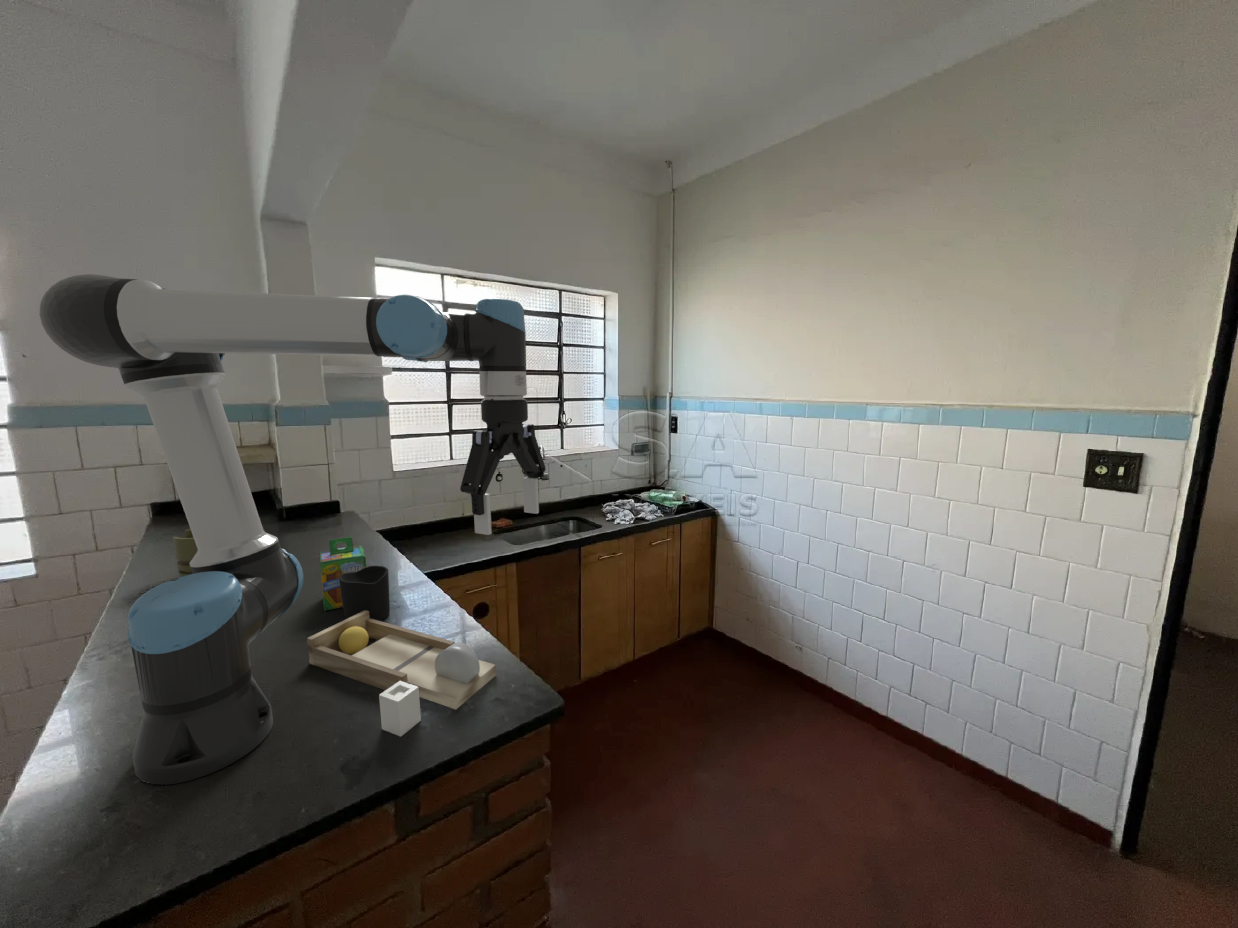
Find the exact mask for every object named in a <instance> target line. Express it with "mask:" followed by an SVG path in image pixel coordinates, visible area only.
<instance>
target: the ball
mask: <svg viewBox="0 0 1238 928" xmlns="http://www.w3.org/2000/svg"><path fill="white" fill-rule="evenodd" d="M369 639H370V637H369V636H368V633H367V631H366V630H365V629H363V628H362V627H358V626H355V627H350V628H348V629H346V630H345V631H344V632H343V633H342V634H341V636H340V638H339V647H340V649H341V652H342V653H345V654H348V655H351V656H352V655H353V654H355V653H357V652H359V651H361V650H362V649H364V648H366V647H368V644H369Z"/></svg>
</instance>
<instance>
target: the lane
mask: <svg viewBox="0 0 1238 928" xmlns="http://www.w3.org/2000/svg"><path fill="white" fill-rule="evenodd" d="M355 626H358V627H362V628H363V629H365V630H366V631H367V633H368V636H369V639H374V640H376V641H375V642H373V643H371V644H370V645H367V646H366V647H365V648H364V649H362V650H361V651H359V652H357V653H355V654H352V655H351V654H346V653H344V652H343V651H342V650H341V649H340V647H339V638H340V636H341V634H342V633H343V632H344V631H345V630H346V629H348V628H350V627H355ZM306 642H307V651H308V652H307V653H308V658H309V659H308V660H309V661H308V662H309V664H310V665H312V666H315V667H318V668H321V669H323V670H325V671H326V670H327V671H329V672H333V673H335V674H337V675H341V676H343V677H346V678H350V679H352V680H355V681H358V682H360V683H364V684H367V685H369V686H372V687H375V688H378V689H381V690H383V691H385V690H387V689H388V688H390V687H391V686H393V685H394V684H396V683H397V682H399V681H403V682H405V683H408V684H411V685H414V686H417V687H419V698H422V699H424V700H427V701H430V702H433V703H436V704H438V705H442V706H445V707H447V708H450V709H452V710H458V709H459V708H460V707H461V706H462V705H464V703H465V702H467V701H468V700H469V699H470V698H472V696H474V695H475V694H477V692H479V690H481V689H482V688H483V687H484V686H485V685H487V684H488V683H489V682H490V681H491V680H493V679H494V677H496V676H497V668H496V667H497V665H496V664H494V663H491V662H487V661H484V660H480V659H478V660H479V664H480V671H479V674H478V675H477V676H476V677H475V678H473V679H472V680H471V681H470V682H469V683H467V684H464V683H461V682H458V681H454V680H451V679H448V678H445V677H442V676H439V675H437V674H436V671H435V659H436V657H437V655H438V654H439V653H441V652H442V651H443V650H445V649H446V648H448V647H449V646H451V645H452V644H454V643H456V642H455V641H454V640H450V639H446V638H442V637H439V636H436V635H431V634H428V633H425V632H421V631H417V630H413V629H410V628H406V627H403V626H400V625H395V624H392V623H389V622H384V621H378V620H374V619H370V616H369V611H366V610H364V611H362V612H360V613H358V614H356V615H354V616H352V617H350V618H348V619H346V620H345V619H343V620H341V621H340V622H338V623H336V624H334V625H331V626H329V627H328V628H324V629H323V630H321V631H319V632H316V633H315V634H313V635H310V636H308V637H307V638H306Z"/></svg>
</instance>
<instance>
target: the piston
mask: <svg viewBox="0 0 1238 928" xmlns="http://www.w3.org/2000/svg"><path fill="white" fill-rule="evenodd" d="M173 547H174V552H175V558H176V560H177V562H176V565H177V569H178V570H177V571H178V576H179V577H182V576H186V575H190V574H193V573H192V570H191V567H190V564H189V563H190V562H191V560H192V559H193V557H194V556H195V554H196V553H197V551H198V548H197V545H196V543H195V540H194V537H193V534H192V531H191V529H190V528H189V529H186V530H184V534H183V536H182V537H179V536H178V537H177V536H173ZM179 577H178V578H179Z"/></svg>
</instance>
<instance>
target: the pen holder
mask: <svg viewBox="0 0 1238 928" xmlns="http://www.w3.org/2000/svg"><path fill="white" fill-rule="evenodd" d="M389 579H390V578H389V569H388V567H385V566H383V565H382V566H381V565H369V566H366V568H363V569H361V570H359V571H357V572H354V573H344V574H341V575H340V576H339V582H340V589H341V596H342V603H343V607H342V609H343V615H344V620H346V619H348V618H350V617H352V616H354V615H356V614H358V613H360V612H362V611H364V610H366V611H369V616H370V619H374V620H378V621H381V622H383V620H385V619H386V618H387V617H388V616H389V614H390V583H389V582H390V581H389Z"/></svg>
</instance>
